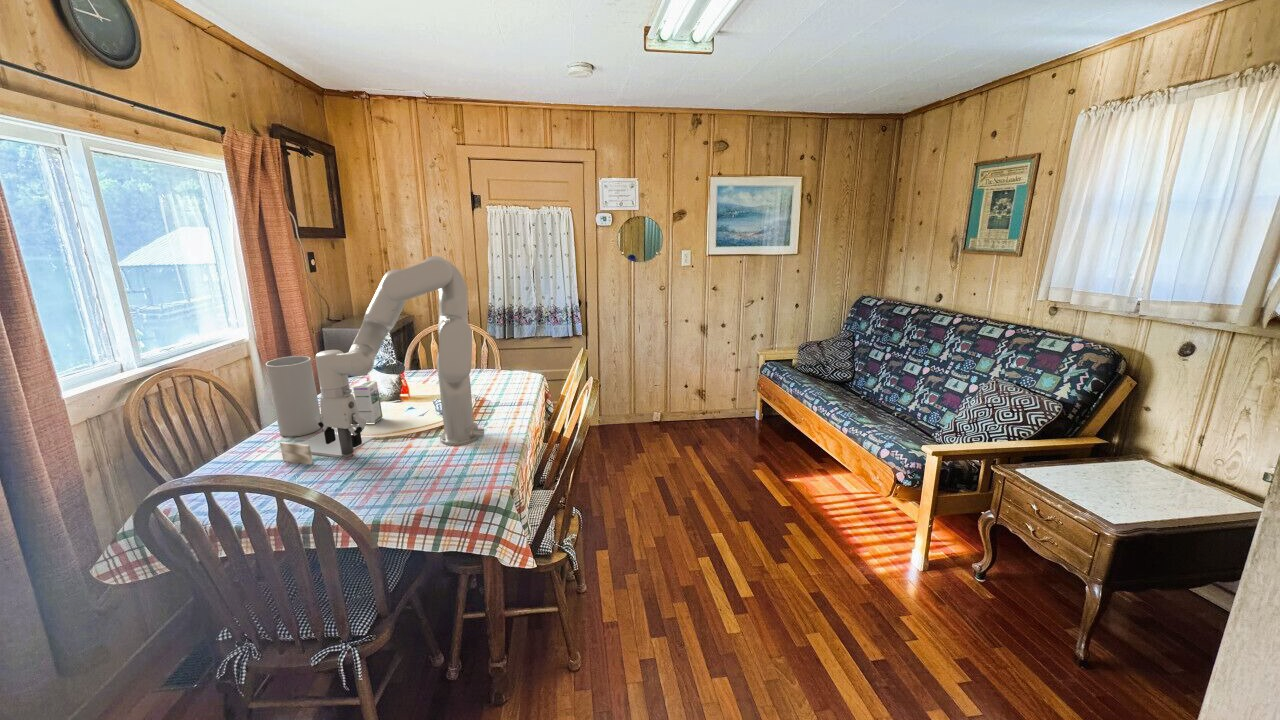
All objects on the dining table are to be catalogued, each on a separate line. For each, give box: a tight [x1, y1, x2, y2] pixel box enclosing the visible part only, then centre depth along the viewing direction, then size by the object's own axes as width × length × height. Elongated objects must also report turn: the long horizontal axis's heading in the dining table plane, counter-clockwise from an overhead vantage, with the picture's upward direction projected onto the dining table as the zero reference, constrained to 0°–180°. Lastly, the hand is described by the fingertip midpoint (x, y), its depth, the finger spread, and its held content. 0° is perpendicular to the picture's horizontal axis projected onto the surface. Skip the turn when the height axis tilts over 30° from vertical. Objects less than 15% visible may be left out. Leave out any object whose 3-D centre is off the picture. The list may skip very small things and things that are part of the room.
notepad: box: [299, 431, 375, 459], centre depth 167 cm, size 20×16×1 cm
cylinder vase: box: [265, 355, 322, 438], centre depth 174 cm, size 12×12×25 cm
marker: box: [336, 428, 355, 459], centre depth 157 cm, size 4×4×12 cm
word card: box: [279, 441, 314, 465], centre depth 154 cm, size 10×1×6 cm, turn 77°
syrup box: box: [352, 380, 384, 423], centre depth 183 cm, size 6×6×14 cm
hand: (344, 443), depth 158 cm, fingers open, 9 cm apart
